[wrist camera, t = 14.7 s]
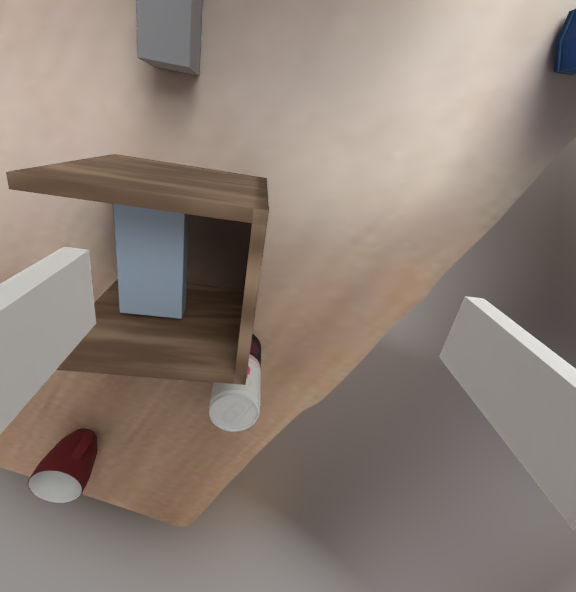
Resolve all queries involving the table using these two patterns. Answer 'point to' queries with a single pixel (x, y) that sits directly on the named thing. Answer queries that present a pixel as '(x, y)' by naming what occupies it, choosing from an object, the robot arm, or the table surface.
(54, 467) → the mug
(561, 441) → the robot arm
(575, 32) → the book
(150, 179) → the bookcase frame
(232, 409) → the beverage can
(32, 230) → the table surface
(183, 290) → the shelf board
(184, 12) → the riser block
